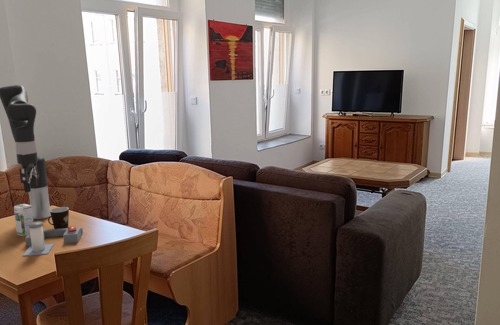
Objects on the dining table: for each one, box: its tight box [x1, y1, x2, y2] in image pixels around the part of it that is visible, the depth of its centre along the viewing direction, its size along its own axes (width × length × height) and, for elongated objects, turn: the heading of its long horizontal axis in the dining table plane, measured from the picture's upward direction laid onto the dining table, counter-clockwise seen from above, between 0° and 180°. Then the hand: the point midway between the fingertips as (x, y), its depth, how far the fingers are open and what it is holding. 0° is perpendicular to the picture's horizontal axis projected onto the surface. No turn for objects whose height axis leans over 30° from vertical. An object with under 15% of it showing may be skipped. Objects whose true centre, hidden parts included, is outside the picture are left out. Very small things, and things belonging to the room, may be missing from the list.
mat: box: [22, 243, 55, 257], centre depth 173 cm, size 10×10×1 cm
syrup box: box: [13, 203, 34, 238], centre depth 190 cm, size 6×6×14 cm
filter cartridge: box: [29, 221, 46, 252], centre depth 171 cm, size 5×5×12 cm
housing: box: [24, 226, 84, 247], centre depth 184 cm, size 12×22×4 cm, turn 102°
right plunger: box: [68, 225, 76, 233], centre depth 184 cm, size 4×4×4 cm
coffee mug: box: [47, 206, 70, 229], centre depth 196 cm, size 12×9×10 cm
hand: (31, 189), depth 167 cm, fingers open, 8 cm apart
